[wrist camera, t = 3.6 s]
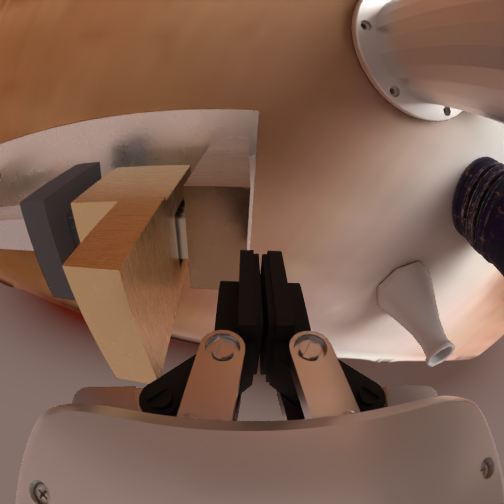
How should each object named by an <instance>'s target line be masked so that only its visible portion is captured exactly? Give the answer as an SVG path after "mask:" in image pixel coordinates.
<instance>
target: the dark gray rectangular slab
mask: <svg viewBox="0 0 504 504" xmlns="http://www.w3.org/2000/svg"><path fill="white" fill-rule="evenodd" d="M100 179H102V177H101V169H100V162H92V163H83V164H77V165H75V166H73V167H71V168H70V169H68V170H67V171H65V172H63V173H62V174H60V175H58V176H57V177H55V178H54V179H52V180H51V181H49V182H48V183H46V184H45V185H43V186H42V187H40V188H39V189H37V190H36V191H34V192H33V193H32V194H30V195H29V196H28V197H26V198H25V199H23V200H22V201H21V202H19V203H20V207H21V211H22V214H23V218H24V221H25V225H26V228H27V231H28V234H29V237H30V240H31V243H32V246H33V249H34V252H35V255H36V257H37V260H38V262H39V265H40V268H41V270H42V273H43V275H44V277H45V280H46V282H47V284H48V287H49V289H50V291H51V293H52V295H53V297H58V298H64V299H70V300H76V299H75V297H74V295H73V292H72V290H71V288H70V285H69V283H68V280H67V278H66V275H65V272H64V270H63V267H62V265H63V264H64V263H65V262H66V260H67V259H68V258H69V256H70V255H71V254H72V253H73V252H74V250H75V247H74V243H73V240H72V236H71V233H70V229H69V225H68V221H67V217H66V214H67V213H69V212H70V211H71V210H72V208H71V202H72V201H74V200H75V199H76V198H77V197H78V196H80V195H81V194H82V193H83V192H85V191H86V190H87V189H88V188H90V187H91V186H92V185H94V184H95V183H96V182H98V181H99V180H100Z"/></svg>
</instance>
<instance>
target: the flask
mask: <svg viewBox="0 0 504 504" xmlns="http://www.w3.org/2000/svg"><path fill="white" fill-rule="evenodd" d="M377 305H378V306H379V307H380V308H382V309H383V310H384V311H385V312H386V313H388V314H389V315H390V316H391V317H393V318H394V319H395V320H396V321H398V322H399V323H400V324H401V325H402V326H403V327H404V328H405V329H406V330H408V331H409V332H410V333H411V334H412V335H413V336H414V338H415V339H416V340H417V341H418V343H419V344H420V345H421V347H422V349H423V351H424V353H425V355H426V357H427V358H426V364H427V365H428V366H430V367H433V366H435V365H437V364H439V363H441V362H443V361H444V360H445V359H447V358H448V357H449V356H450V355H452V353H453V351H454V349H455V346H454V344H453V343H451V342H450V341H449V340H448V339H447V337H446V335H445V333H444V331H443V328H442V325H441V322H440V319H439V315H438V309H437V305H436V300H435V295H434V290H433V285H432V280H431V276H430V272H429V271H428V270H427V269H426V268H425V267H424V266H423V265H422V264H421V263H420V262H419V261H418V262H415V263H412V264H409V265H406V266H403V267H400V268H397V269H396V270H395V271H394V272H393V273H392V274H391V275H390V276H388V277H387V278H386V279H385V280H384V281H383V282H382V283H381V284H380V285H379V286H378V287H377Z"/></svg>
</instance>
